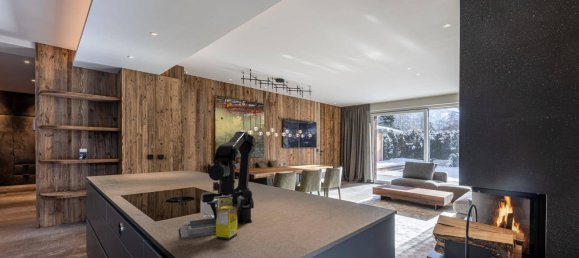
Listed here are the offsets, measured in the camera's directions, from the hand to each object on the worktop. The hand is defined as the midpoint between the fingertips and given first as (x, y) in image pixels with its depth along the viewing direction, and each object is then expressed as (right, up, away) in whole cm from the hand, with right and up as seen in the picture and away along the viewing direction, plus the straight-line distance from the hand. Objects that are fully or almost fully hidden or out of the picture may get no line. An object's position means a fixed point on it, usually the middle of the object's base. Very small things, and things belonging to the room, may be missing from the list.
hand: (226, 217), depth 101 cm
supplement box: (0, -7, 0) cm, 7 cm away
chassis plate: (-11, -8, +8) cm, 16 cm away
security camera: (-14, -9, +23) cm, 28 cm away
